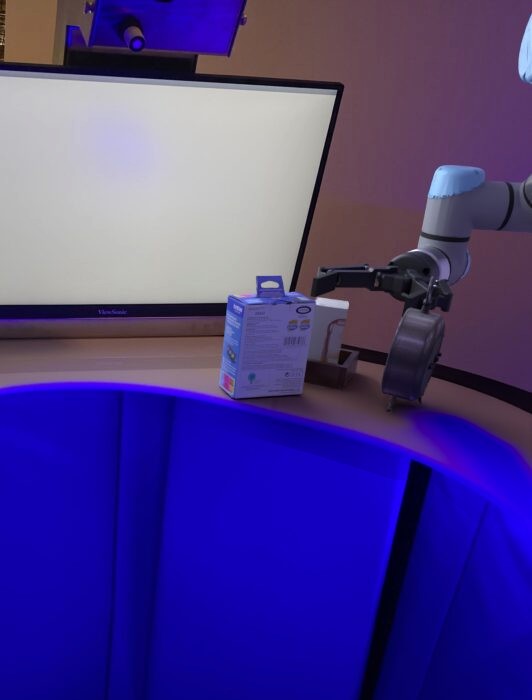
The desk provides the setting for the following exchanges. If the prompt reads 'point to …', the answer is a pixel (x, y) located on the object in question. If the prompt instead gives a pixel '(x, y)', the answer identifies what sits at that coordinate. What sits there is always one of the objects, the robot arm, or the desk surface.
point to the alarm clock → (413, 353)
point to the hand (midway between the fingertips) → (358, 297)
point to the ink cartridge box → (266, 341)
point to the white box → (327, 329)
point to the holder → (332, 370)
